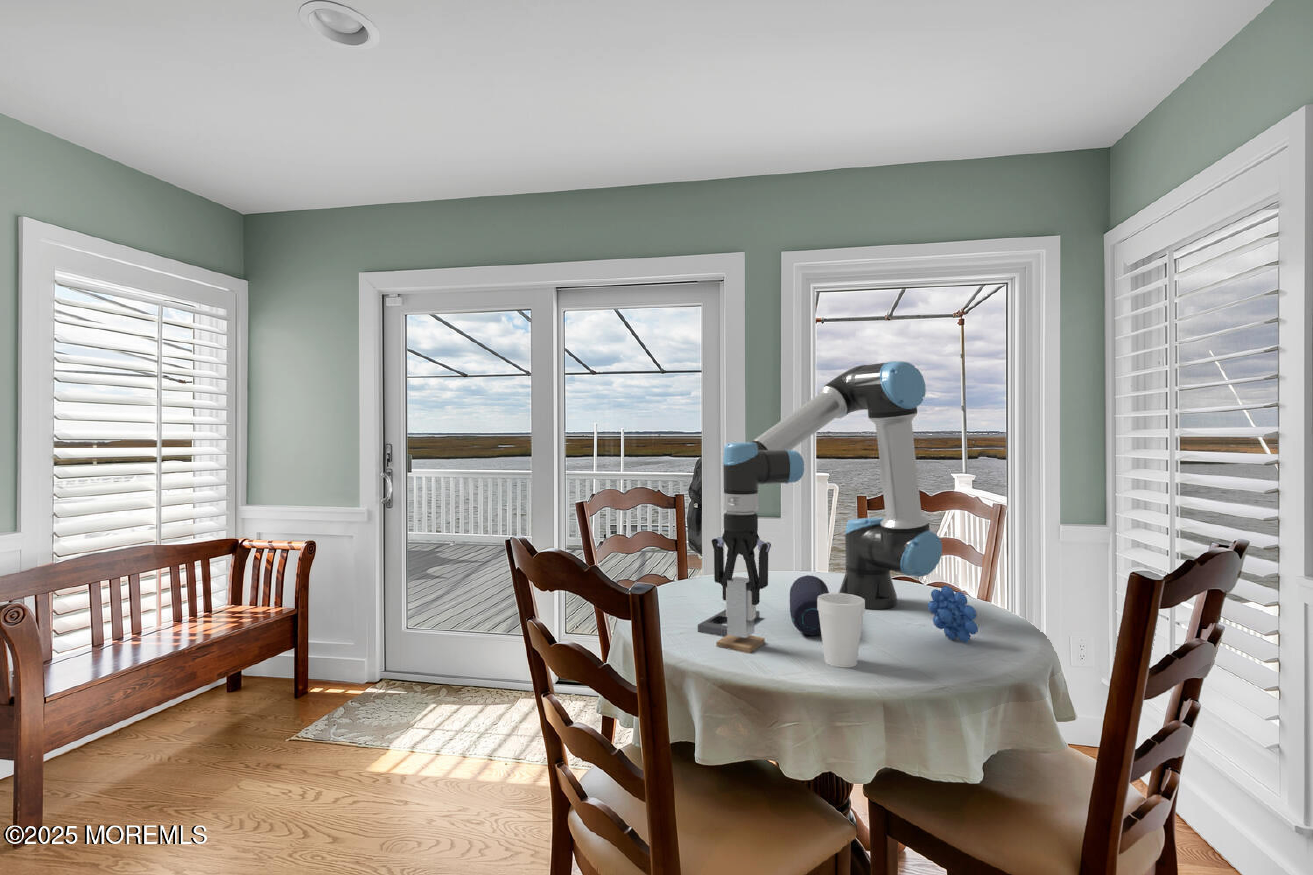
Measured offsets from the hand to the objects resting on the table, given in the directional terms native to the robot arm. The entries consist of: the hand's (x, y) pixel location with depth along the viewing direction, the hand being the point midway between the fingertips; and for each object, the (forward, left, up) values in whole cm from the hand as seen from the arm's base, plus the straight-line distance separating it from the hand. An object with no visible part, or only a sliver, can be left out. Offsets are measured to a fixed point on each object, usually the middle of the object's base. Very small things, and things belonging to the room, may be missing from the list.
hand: (740, 616), depth 145 cm
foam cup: (-22, -1, -6) cm, 23 cm away
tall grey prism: (0, 0, -4) cm, 4 cm away
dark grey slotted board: (+9, -12, -6) cm, 16 cm away
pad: (0, 0, -6) cm, 6 cm away
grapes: (-39, -27, -6) cm, 48 cm away
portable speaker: (-8, -23, -6) cm, 25 cm away
